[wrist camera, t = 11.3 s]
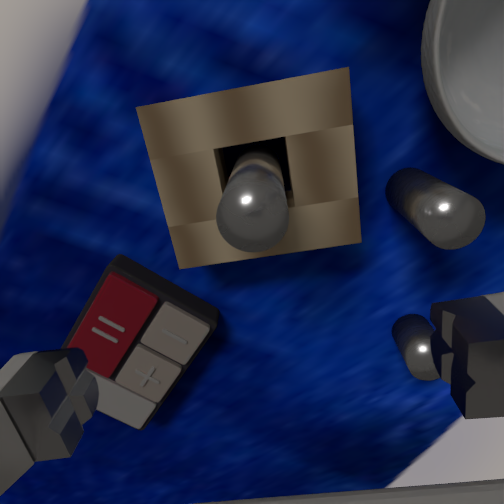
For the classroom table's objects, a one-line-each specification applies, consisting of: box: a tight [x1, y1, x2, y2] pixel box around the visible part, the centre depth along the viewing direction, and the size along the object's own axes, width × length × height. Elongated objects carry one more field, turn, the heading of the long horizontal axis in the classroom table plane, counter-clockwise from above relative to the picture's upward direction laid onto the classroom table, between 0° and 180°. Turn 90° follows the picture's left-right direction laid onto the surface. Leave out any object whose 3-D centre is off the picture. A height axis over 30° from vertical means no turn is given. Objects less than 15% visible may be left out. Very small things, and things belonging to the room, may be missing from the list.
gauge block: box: [136, 67, 361, 269], centre depth 30 cm, size 14×12×5 cm
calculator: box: [61, 254, 219, 430], centre depth 38 cm, size 11×4×15 cm
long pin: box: [216, 143, 289, 252], centre depth 26 cm, size 4×4×14 cm
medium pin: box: [385, 167, 485, 249], centre depth 28 cm, size 4×4×9 cm
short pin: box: [392, 314, 440, 381], centre depth 36 cm, size 4×4×5 cm
